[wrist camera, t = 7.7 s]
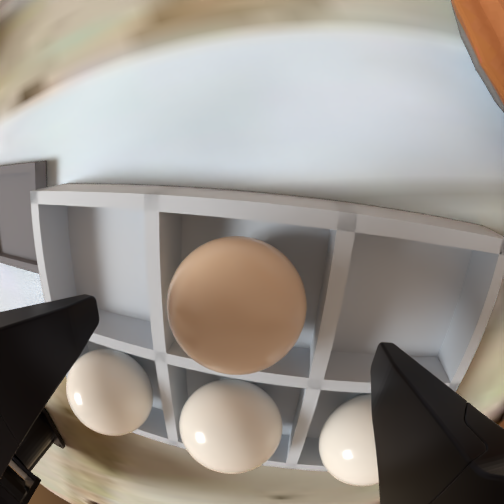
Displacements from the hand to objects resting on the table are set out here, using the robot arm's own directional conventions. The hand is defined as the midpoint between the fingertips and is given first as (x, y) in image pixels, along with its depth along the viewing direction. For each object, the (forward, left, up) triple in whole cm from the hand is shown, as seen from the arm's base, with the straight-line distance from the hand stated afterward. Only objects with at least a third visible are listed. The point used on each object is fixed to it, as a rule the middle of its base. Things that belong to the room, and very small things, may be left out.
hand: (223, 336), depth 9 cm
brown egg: (0, 0, -2) cm, 2 cm away
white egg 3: (-7, -7, -2) cm, 10 cm away
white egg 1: (-7, +7, -2) cm, 10 cm away
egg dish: (+2, +15, -5) cm, 16 cm away
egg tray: (-3, 0, -5) cm, 6 cm away
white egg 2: (-7, 0, -2) cm, 7 cm away
